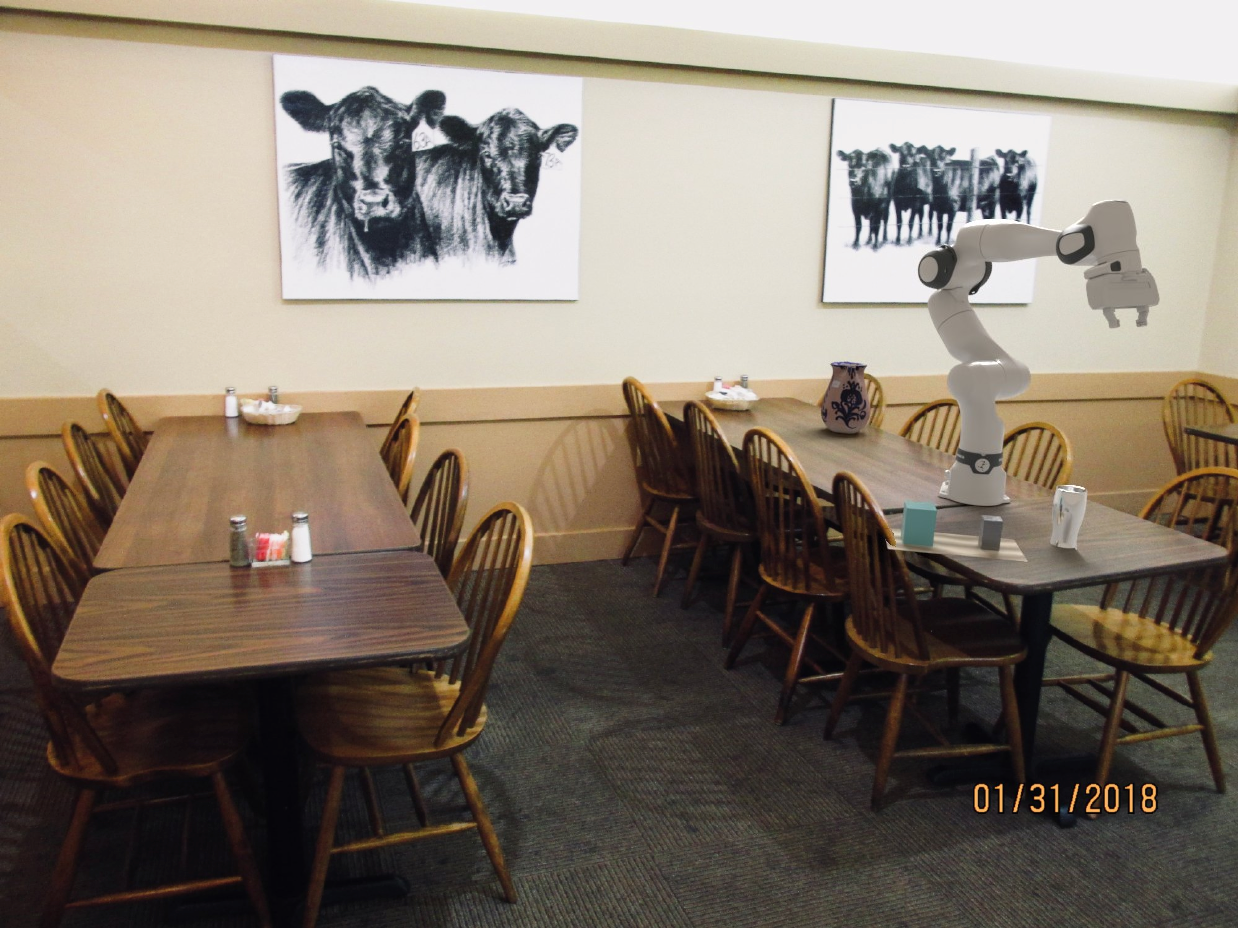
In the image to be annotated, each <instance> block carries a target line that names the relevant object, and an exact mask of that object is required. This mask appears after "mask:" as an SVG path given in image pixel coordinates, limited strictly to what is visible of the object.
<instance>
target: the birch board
mask: <svg viewBox="0 0 1238 928" xmlns="http://www.w3.org/2000/svg"><path fill="white" fill-rule="evenodd" d="M891 529H892V532H893V533H894V538H895V541H896V545H895V546H896V547H895V546H892V545H890V544H889V543H888V542H887V541H886V540H885V541H886V547H887V549H888V550H895V551H908V552H917V553H928V554H939V555H948V556H959V557H970V558H980V559H981V558H982V559H991V560H1002V561H1003V560H1004V561H1013V562H1025V563H1027V562H1029V561H1028V560H1027V558H1026V556H1025V554H1024V553H1023V551H1022V550H1021V548H1020V547H1019V545H1018V544H1017V542H1016V540H1015V539H1012V538H1002V537H1001V541H1000V549H999V551H994V550H983V549H980V547H979V545H978V540H979V535H978V536H977V535H968V534H967V535H966V534H956V533H946V532H945V533H943V532H934V541H933V547H932V546H921V545H910V544H903V542H902V538H901V528H891Z"/></svg>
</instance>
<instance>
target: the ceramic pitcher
mask: <svg viewBox="0 0 1238 928" xmlns="http://www.w3.org/2000/svg"><path fill="white" fill-rule="evenodd" d="M829 365H830V366H831V368H832V374H831V378H830V380H829V383H828V386H827V388H826V391H825V394H824V396H823V399H822V404H821V408H820V409H821V410H820V416H821V419H822V422H823V424H824V425H825V426H826V427H827V429H828V430H830V431H831V432H833V433H837V434H848V435H851V434H856V433H859V432H860V431H861V430H863V429H865V426H866V425H867V424H868V422H869V420H870V418H871V417H870V416H871V403H870V398H869V394H868V391H867V386H866V385H867V384H866V381H865V370H866V369H867V367H868V364H864V363H860V362H853V361H848V360H846V361H834V362H831V363H829Z"/></svg>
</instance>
